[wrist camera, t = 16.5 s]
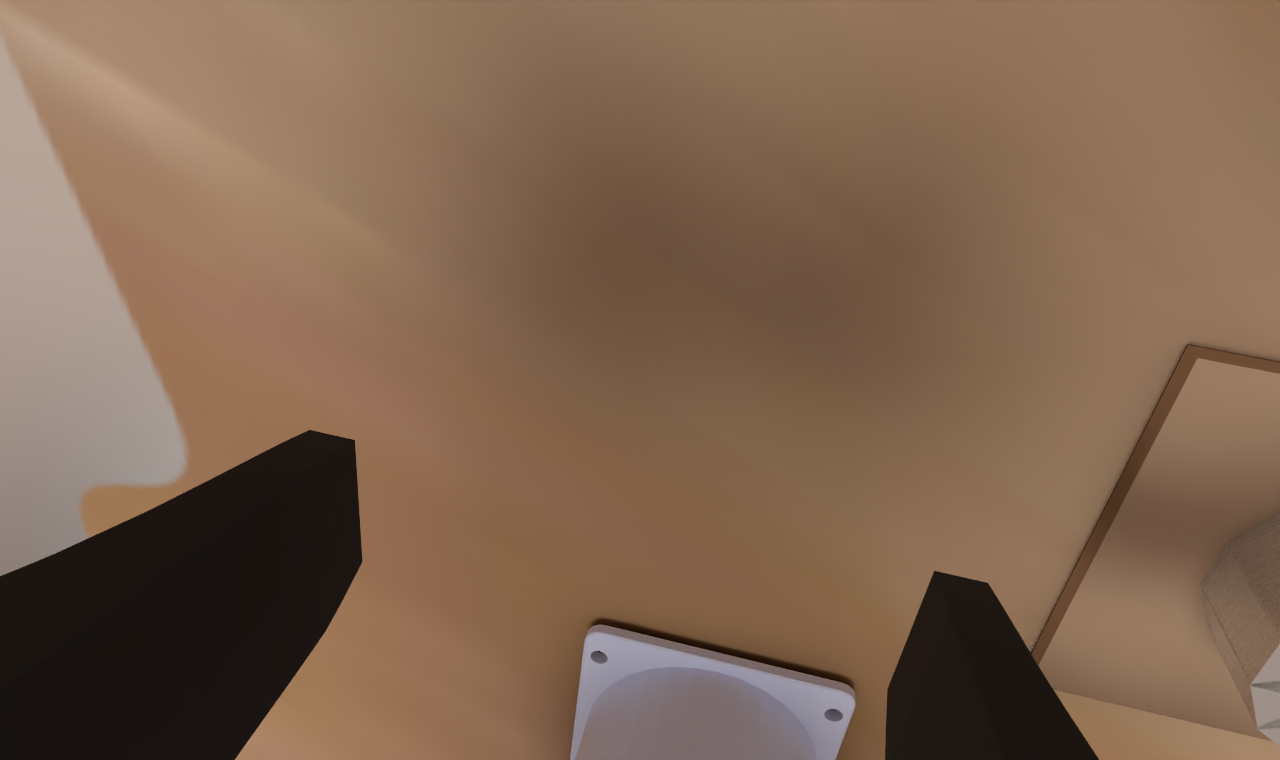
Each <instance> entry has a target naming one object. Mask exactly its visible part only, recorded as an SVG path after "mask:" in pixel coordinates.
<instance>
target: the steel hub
mask: <svg viewBox="0 0 1280 760" xmlns="http://www.w3.org/2000/svg"><path fill="white" fill-rule="evenodd" d="M1200 588H1201V592H1202V597H1203V603H1204V608H1205V614H1206V619H1207V625H1208V626H1207V627H1208V629H1209V631H1210V633H1211V635H1212V637H1213V639H1214V641H1215V643H1216V646H1217V648H1218V650H1219V652H1220V654H1221V656H1222V658H1223V660H1224V662H1225V664H1226V666H1227V668H1228V670H1229V672H1230V674H1231V676H1232V679H1233V681H1234V683H1235V685H1236V687H1237V689H1238V691H1239V693H1240V695H1241V697H1242V699H1243V701H1244V703H1245V705H1246V707H1247V709H1248V712H1249V714H1250V716H1251V718H1252V720H1253V722H1254V724H1255V726H1256V728H1257V730H1259V731H1261V732H1262V733H1263V734H1264V735H1266V736H1267V737H1268V738H1269V739H1271V740H1272V741H1273V742H1274V743H1276V744H1277V745H1278V746H1279V747H1280V512H1278V513H1276V514H1275V515H1273V516H1271V517H1269V518H1268V519H1266V520H1264V521H1263V522H1261V523H1259V524H1257V525H1256V526H1254V527H1252V528H1251V529H1249V530H1247V531H1245V532H1244V533H1242V534H1240V535H1239V536H1237V537H1235V538H1233V539H1232V540H1230V541H1228V542H1227V543H1226V544H1225V546H1224V548H1223V549H1222V551H1221V552H1220V554H1219V556H1218V557H1217V559H1216V561H1215V562H1214V564H1213V565H1212V567H1211V569H1210V570H1209V572H1208V574H1207V575H1206V577H1205V578H1204V580H1203V582H1202V583H1201V584H1200Z"/></svg>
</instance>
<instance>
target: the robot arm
mask: <svg viewBox="0 0 1280 760" xmlns="http://www.w3.org/2000/svg"><path fill="white" fill-rule="evenodd" d="M361 563H362V550H361V533H360V517H359V501H358V485H357V468H356V452H355V440H352V439H347V438H343V437H338V436H334V435H330V434H325V433H321V432H316V431H312V430H309V431H307V432H305V433H302V434H300V435H298V436H296V437H293V438H291V439H289V440H287V441H285V442H283V443H281V444H279V445H277V446H275V447H273V448H271V449H269V450H267V451H265V452H263V453H261V454H259V455H257V456H255V457H253V458H252V459H250V460H248V461H246V462H244V463H242V464H240V465H238V466H236V467H234V468H232V469H230V470H228V471H226V472H224V473H222V474H221V475H219V476H217V477H215V478H213V479H211V480H209V481H207V482H205V483H203V484H201V485H199V486H197V487H195V488H193V489H191V490H189V491H187V492H185V493H183V494H181V495H179V496H177V497H175V498H173V499H171V500H169V501H167V502H165V503H163V504H161V505H159V506H157V507H155V508H153V509H151V510H149V511H147V512H145V513H143V514H141V515H138V516H136V517H134V518H132V519H130V520H127V521H125V522H123V523H121V524H119V525H117V526H114V527H112V528H110V529H108V530H106V531H104V532H101V533H99V534H97V535H95V536H93V537H90V538H88V539H86V540H84V541H82V542H80V543H77V544H75V545H73V546H71V547H69V548H66V549H65V550H62V551H60V552H58V553H56V554H54V555H51V556H49V557H46V558H44V559H41V560H39V561H37V562H34V563H32V564H29V565H27V566H25V567H22V568H20V569H17V570H15V571H12V572H10V573H7V574H5V575H3V576H0V760H235V758H236V757H237V756H238V754H239V753H240V751H241V750H242V749H243V747H244V746H245V744H246V743H247V742H248V740H249V739H250V737H251V736H252V735H253V733H254V732H255V730H256V729H257V728H258V726H259V725H260V723H261V722H262V721H263V719H264V718H265V716H266V715H267V714H268V712H269V711H270V709H271V708H272V707H273V705H274V704H275V702H276V701H277V700H278V698H279V697H280V695H281V694H282V693H283V691H284V690H285V688H286V687H287V686H288V684H289V683H290V681H291V680H292V678H293V677H294V676H295V674H296V673H297V671H298V670H299V669H300V667H301V666H302V664H303V663H304V661H305V660H306V659H307V657H308V656H309V654H310V653H311V651H312V650H313V649H314V647H315V646H316V644H317V643H318V641H319V640H320V638H321V637H322V635H323V634H324V633H325V631H326V629H327V627H328V626H329V624H330V622H331V620H332V618H333V617H334V615H335V613H336V611H337V609H338V608H339V606H340V604H341V602H342V600H343V598H344V596H345V595H346V593H347V591H348V589H349V587H350V585H351V583H352V581H353V579H354V577H355V575H356V573H357V571H358V569H359V567H360V565H361ZM597 651H601V652H603V653H605V654H602V653H599V652H597ZM830 709H836V710H837V711H835V710H830ZM854 709H855V692H854V690H853V689H852V688H851V687H850V686H849V685H847V684H844V683H842V682H838V681H833V680H829V679H825V678H821V677H817V676H813V675H809V674H805V673H801V672H796V671H792V670H788V669H784V668H780V667H776V666H772V665H768V664H763V663H759V662H755V661H751V660H747V659H743V658H739V657H735V656H731V655H726V654H722V653H718V652H714V651H710V650H706V649H702V648H698V647H693V646H689V645H685V644H681V643H677V642H673V641H669V640H665V639H661V638H656V637H652V636H648V635H644V634H640V633H636V632H632V631H628V630H623V629H619V628H615V627H611V626H607V625H594V626H592V627H591V628H589V630H588V632H587V635H586V638H585V641H584V649H583V658H582V666H581V674H580V682H579V690H578V698H577V707H576V715H575V723H574V731H573V739H572V747H571V756H570V760H836V757H837V754H838V751H839V749H840V746H841V743H842V741H843V738H844V735H845V733H846V730H847V727H848V725H849V722H850V719H851V717H852V714H853V711H854ZM885 760H1099V759H1098V757H1097V756H1096V754H1095V753H1094V751H1093V750H1092V748H1091V747H1090V745H1089V744H1088V742H1087V741H1086V739H1085V738H1084V736H1083V735H1082V733H1081V732H1080V730H1079V729H1078V727H1077V726H1076V724H1075V722H1074V721H1073V719H1072V718H1071V716H1070V715H1069V713H1068V712H1067V710H1066V709H1065V707H1064V706H1063V704H1062V703H1061V701H1060V699H1059V698H1058V696H1057V695H1056V693H1055V692H1054V690H1053V688H1052V687H1051V685H1050V684H1049V682H1048V680H1047V679H1046V677H1045V675H1044V674H1043V672H1042V671H1041V669H1040V667H1039V666H1038V664H1037V663H1036V661H1035V659H1034V658H1033V656H1032V654H1031V653H1030V651H1029V649H1028V648H1027V646H1026V645H1025V643H1024V641H1023V640H1022V638H1021V636H1020V635H1019V633H1018V631H1017V630H1016V628H1015V626H1014V625H1013V623H1012V621H1011V620H1010V618H1009V616H1008V615H1007V613H1006V611H1005V610H1004V608H1003V606H1002V605H1001V603H1000V602H999V600H998V598H997V597H996V595H995V594H994V592H993V590H992V589H991V587H990V586H989V584H988V583H986V582H981V581H977V580H972V579H968V578H963V577H959V576H955V575H950V574H946V573H941V572H937V571H934V573H933V576H932V578H931V581H930V583H929V586H928V588H927V591H926V593H925V596H924V598H923V601H922V603H921V606H920V609H919V611H918V614H917V616H916V619H915V621H914V624H913V626H912V629H911V631H910V634H909V636H908V639H907V641H906V644H905V646H904V649H903V652H902V654H901V657H900V659H899V662H898V664H897V667H896V669H895V672H894V674H893V677H892V679H891V682H890V684H889V687H888V693H887V718H886V750H885Z"/></svg>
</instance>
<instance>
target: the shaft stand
mask: <svg viewBox="0 0 1280 760" xmlns="http://www.w3.org/2000/svg"><path fill="white" fill-rule="evenodd" d="M1278 512H1280V362H1275V361H1270V360H1264V359H1259V358H1254V357H1249V356H1243V355H1238V354H1233V353H1228V352H1222V351H1217V350H1212V349H1207V348H1201V347H1196V346H1191V345H1188V346H1187V348H1186V350H1185V352H1184V354H1183V356H1182V358H1181V359H1180V361H1179V363H1178V365H1177V367H1176V369H1175V371H1174V373H1173V375H1172V377H1171V379H1170V381H1169V383H1168V385H1167V387H1166V389H1165V391H1164V393H1163V395H1162V397H1161V399H1160V401H1159V403H1158V405H1157V407H1156V409H1155V411H1154V413H1153V415H1152V417H1151V419H1150V421H1149V423H1148V425H1147V427H1146V429H1145V431H1144V433H1143V435H1142V437H1141V438H1140V440H1139V442H1138V444H1137V446H1136V448H1135V450H1134V452H1133V454H1132V456H1131V458H1130V460H1129V462H1128V464H1127V466H1126V468H1125V470H1124V472H1123V474H1122V476H1121V478H1120V480H1119V482H1118V484H1117V486H1116V488H1115V490H1114V492H1113V494H1112V496H1111V498H1110V500H1109V502H1108V504H1107V506H1106V508H1105V510H1104V512H1103V514H1102V515H1101V517H1100V519H1099V521H1098V523H1097V525H1096V527H1095V529H1094V531H1093V533H1092V535H1091V537H1090V539H1089V541H1088V543H1087V545H1086V547H1085V549H1084V551H1083V553H1082V555H1081V557H1080V559H1079V561H1078V563H1077V565H1076V567H1075V569H1074V571H1073V573H1072V575H1071V577H1070V579H1069V581H1068V583H1067V585H1066V587H1065V589H1064V591H1063V592H1062V594H1061V596H1060V598H1059V600H1058V602H1057V604H1056V606H1055V608H1054V610H1053V612H1052V614H1051V616H1050V618H1049V620H1048V622H1047V624H1046V626H1045V628H1044V630H1043V632H1042V634H1041V636H1040V638H1039V640H1038V642H1037V644H1036V646H1035V648H1034V650H1033V652H1032V656H1033V658H1034V659H1035V661H1036V663H1037V664H1038V666H1039V667H1040V669H1041V671H1042V672H1043V674H1044V675H1045V677H1046V679H1047V680H1048V682H1049V684H1050V685H1051V687H1052V688H1053V689H1055V690H1059V691H1063V692H1067V693H1071V694H1076V695H1080V696H1084V697H1088V698H1093V699H1097V700H1101V701H1105V702H1109V703H1114V704H1118V705H1122V706H1126V707H1131V708H1135V709H1139V710H1143V711H1147V712H1152V713H1156V714H1160V715H1164V716H1168V717H1173V718H1177V719H1181V720H1185V721H1190V722H1194V723H1198V724H1202V725H1206V726H1211V727H1215V728H1219V729H1223V730H1227V731H1232V732H1236V733H1240V734H1244V735H1249V736H1253V737H1257V738H1261V739H1265V740H1270V741H1272V740H1271V739H1269V738H1268V737H1267V736H1266V735H1264V734H1263V733H1262V732H1261V731H1259V730H1257V728H1256V726H1255V724H1254V722H1253V720H1252V718H1251V716H1250V714H1249V712H1248V709H1247V707H1246V705H1245V703H1244V701H1243V699H1242V697H1241V695H1240V693H1239V691H1238V689H1237V687H1236V685H1235V683H1234V681H1233V679H1232V676H1231V674H1230V672H1229V670H1228V668H1227V666H1226V664H1225V662H1224V660H1223V658H1222V656H1221V654H1220V652H1219V650H1218V648H1217V646H1216V643H1215V641H1214V639H1213V637H1212V635H1211V633H1210V631H1209V629H1208V627H1207V626H1208V625H1207V619H1206V614H1205V608H1204V603H1203V597H1202V592H1201V588H1200V584H1201V583H1202V582H1203V580H1204V578H1205V577H1206V575H1207V574H1208V572H1209V570H1210V569H1211V567H1212V565H1213V564H1214V562H1215V561H1216V559H1217V557H1218V556H1219V554H1220V552H1221V551H1222V549H1223V548H1224V546H1225V544H1226V543H1227V542H1228V541H1230V540H1232V539H1233V538H1235V537H1237V536H1239V535H1240V534H1242V533H1244V532H1245V531H1247V530H1249V529H1251V528H1252V527H1254V526H1256V525H1257V524H1259V523H1261V522H1263V521H1264V520H1266V519H1268V518H1269V517H1271V516H1273V515H1275V514H1276V513H1278Z"/></svg>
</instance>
